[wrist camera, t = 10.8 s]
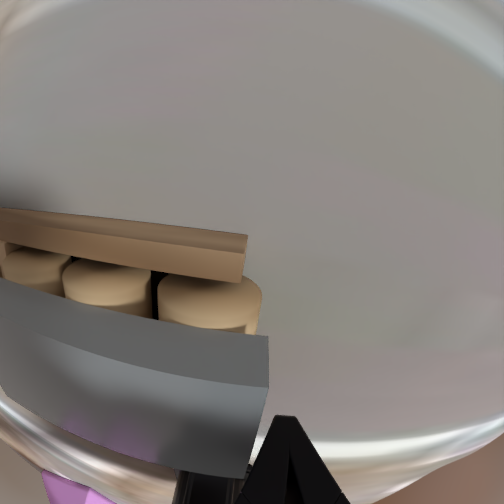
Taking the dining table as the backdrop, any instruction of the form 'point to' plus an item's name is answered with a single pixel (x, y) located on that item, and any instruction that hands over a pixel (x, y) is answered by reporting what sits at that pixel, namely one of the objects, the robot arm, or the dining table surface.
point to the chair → (70, 491)
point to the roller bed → (133, 267)
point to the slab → (135, 380)
